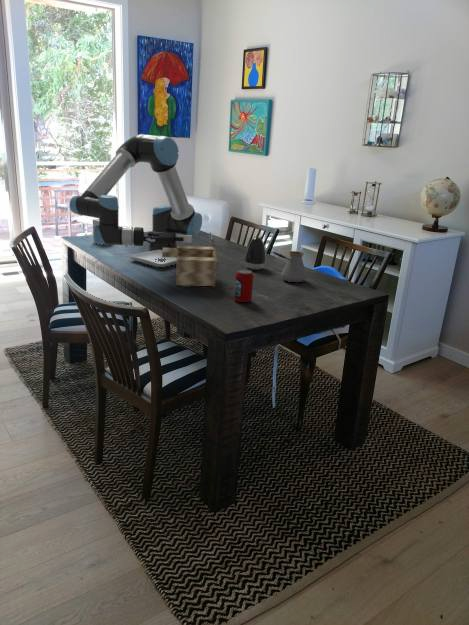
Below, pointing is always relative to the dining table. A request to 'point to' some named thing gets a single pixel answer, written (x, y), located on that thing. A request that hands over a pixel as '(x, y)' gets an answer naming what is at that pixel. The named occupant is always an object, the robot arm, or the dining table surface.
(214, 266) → the carton
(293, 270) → the coffee pot
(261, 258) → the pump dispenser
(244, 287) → the beverage can
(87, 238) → the dining table surface
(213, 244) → the carton flap
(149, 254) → the salad plate
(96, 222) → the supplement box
